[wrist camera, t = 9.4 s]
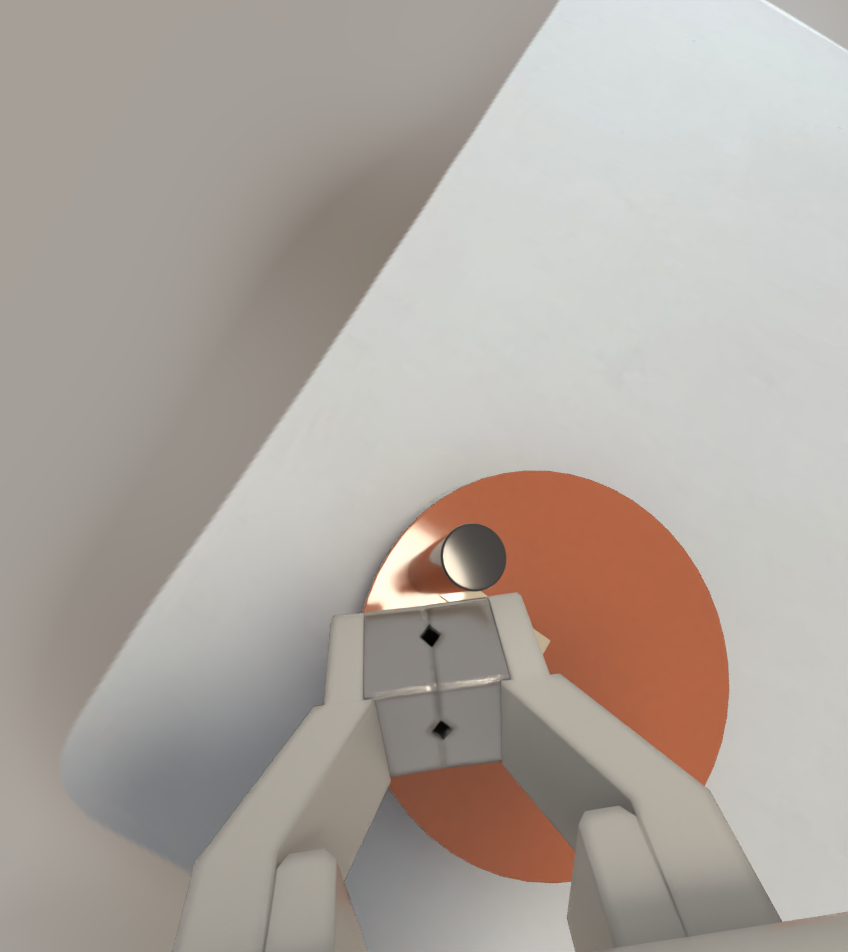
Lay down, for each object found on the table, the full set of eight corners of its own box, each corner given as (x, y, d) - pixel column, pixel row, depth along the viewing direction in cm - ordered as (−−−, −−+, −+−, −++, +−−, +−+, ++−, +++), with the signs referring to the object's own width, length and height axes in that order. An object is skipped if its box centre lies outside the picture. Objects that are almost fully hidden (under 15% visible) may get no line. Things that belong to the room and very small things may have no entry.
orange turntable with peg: (339, 874, 21) (337, 1071, 12) (368, 462, 25) (382, 386, 16) (728, 864, 23) (965, 1024, 14) (696, 488, 27) (865, 433, 19)
